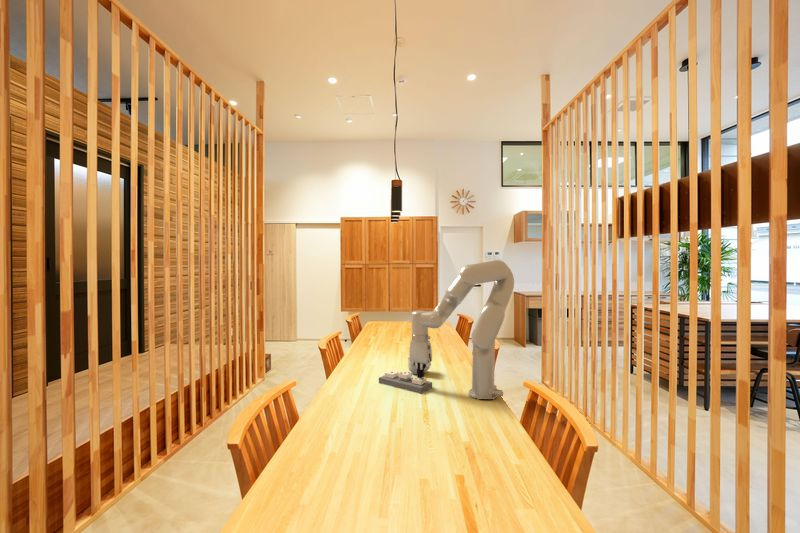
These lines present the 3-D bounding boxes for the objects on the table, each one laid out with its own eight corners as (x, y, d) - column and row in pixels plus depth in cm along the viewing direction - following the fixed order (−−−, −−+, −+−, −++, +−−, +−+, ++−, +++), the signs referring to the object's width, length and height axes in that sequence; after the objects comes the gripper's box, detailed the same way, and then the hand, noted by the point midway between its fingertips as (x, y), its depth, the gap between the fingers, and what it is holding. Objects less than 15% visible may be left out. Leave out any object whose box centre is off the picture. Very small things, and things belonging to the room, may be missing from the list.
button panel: (432, 387, 172) (432, 382, 172) (420, 393, 164) (420, 388, 164) (391, 377, 186) (391, 372, 186) (378, 382, 178) (378, 377, 178)
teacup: (404, 371, 196) (404, 356, 196) (422, 369, 201) (422, 354, 201) (416, 379, 184) (416, 363, 184) (435, 376, 188) (435, 360, 188)
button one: (398, 380, 180) (398, 371, 180) (392, 383, 176) (392, 374, 176) (390, 378, 183) (390, 370, 183) (384, 381, 179) (384, 372, 179)
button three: (412, 381, 175) (412, 372, 175) (406, 384, 171) (406, 374, 171) (403, 379, 178) (403, 370, 178) (398, 382, 174) (398, 373, 174)
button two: (426, 387, 171) (426, 378, 170) (420, 390, 167) (420, 380, 167) (417, 385, 173) (417, 376, 173) (411, 388, 169) (412, 378, 169)
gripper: (438, 338, 168) (438, 378, 168) (411, 334, 177) (411, 372, 177) (429, 340, 162) (430, 382, 162) (402, 337, 171) (402, 376, 171)
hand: (420, 377), depth 170 cm, fingers closed
